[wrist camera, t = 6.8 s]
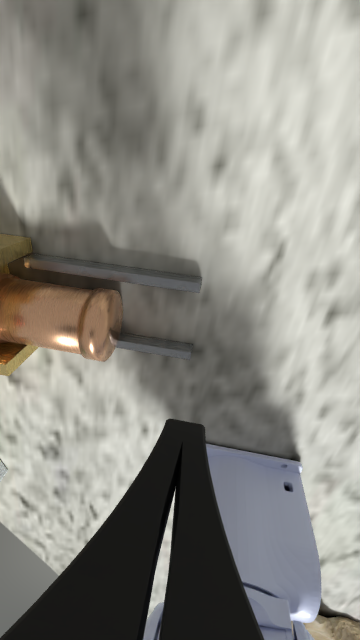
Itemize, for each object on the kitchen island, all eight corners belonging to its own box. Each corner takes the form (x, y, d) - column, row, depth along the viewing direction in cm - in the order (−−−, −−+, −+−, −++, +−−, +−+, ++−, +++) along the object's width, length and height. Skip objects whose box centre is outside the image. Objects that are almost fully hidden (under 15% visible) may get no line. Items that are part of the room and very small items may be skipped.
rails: (201, 277, 17) (200, 283, 16) (191, 351, 20) (190, 359, 19) (33, 253, 18) (23, 258, 17) (45, 327, 21) (38, 334, 20)
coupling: (121, 277, 18) (93, 319, 14) (125, 330, 20) (102, 376, 17) (3, 259, 18) (-52, 296, 15) (21, 313, 21) (-21, 354, 18)
